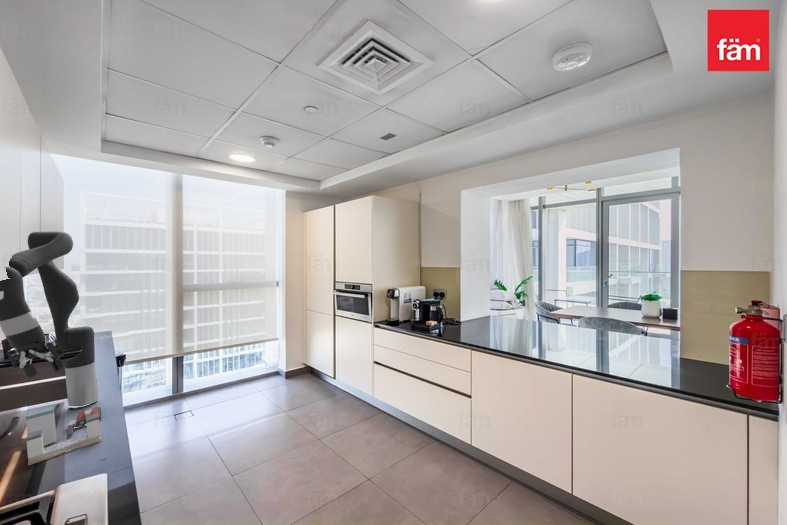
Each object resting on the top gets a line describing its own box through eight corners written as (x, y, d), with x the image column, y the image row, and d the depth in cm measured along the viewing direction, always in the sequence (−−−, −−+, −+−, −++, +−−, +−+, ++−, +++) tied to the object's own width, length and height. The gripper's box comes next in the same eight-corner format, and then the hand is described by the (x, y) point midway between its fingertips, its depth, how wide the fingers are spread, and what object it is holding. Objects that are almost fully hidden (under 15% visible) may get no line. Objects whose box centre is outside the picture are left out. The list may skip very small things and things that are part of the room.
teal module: (30, 445, 106) (27, 412, 106) (56, 437, 111) (53, 406, 110) (29, 450, 103) (25, 417, 103) (56, 442, 108) (53, 409, 107)
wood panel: (30, 456, 100) (29, 454, 100) (99, 433, 111) (99, 431, 111) (28, 465, 95) (27, 463, 95) (101, 440, 106) (101, 438, 106)
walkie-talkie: (71, 420, 124) (65, 440, 109) (70, 409, 124) (64, 427, 109) (102, 412, 130) (100, 429, 115) (101, 401, 130) (99, 417, 115)
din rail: (30, 454, 99) (30, 452, 99) (98, 432, 110) (98, 430, 110) (29, 461, 96) (28, 458, 96) (100, 437, 107) (99, 435, 107)
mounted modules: (29, 453, 99) (27, 433, 99) (99, 430, 110) (98, 413, 110) (28, 458, 96) (26, 438, 96) (100, 434, 107) (99, 416, 107)
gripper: (56, 319, 106) (78, 362, 110) (12, 328, 105) (36, 371, 110) (33, 329, 99) (57, 374, 103) (-14, 339, 98) (12, 384, 102)
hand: (46, 372), depth 106 cm, fingers open, 8 cm apart
